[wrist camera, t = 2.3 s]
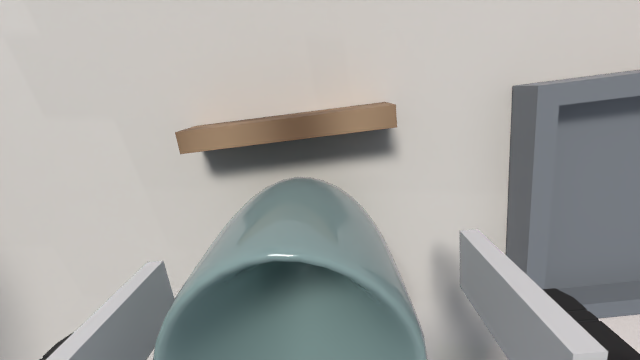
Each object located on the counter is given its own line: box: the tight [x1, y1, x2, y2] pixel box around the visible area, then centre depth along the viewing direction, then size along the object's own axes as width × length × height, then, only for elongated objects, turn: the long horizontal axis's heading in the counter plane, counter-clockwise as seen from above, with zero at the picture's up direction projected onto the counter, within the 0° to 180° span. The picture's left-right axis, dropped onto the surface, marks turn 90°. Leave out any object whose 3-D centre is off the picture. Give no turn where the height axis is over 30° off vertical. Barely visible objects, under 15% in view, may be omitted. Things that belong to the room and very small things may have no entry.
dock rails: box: [175, 102, 397, 154], centre depth 17 cm, size 10×13×2 cm
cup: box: [153, 177, 427, 360], centre depth 14 cm, size 8×8×10 cm
